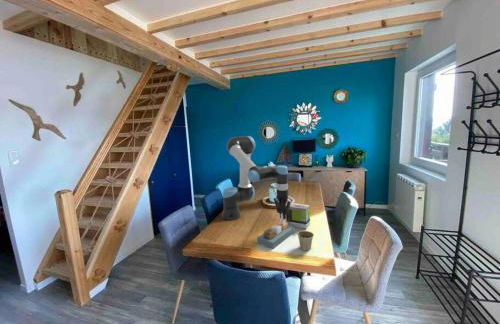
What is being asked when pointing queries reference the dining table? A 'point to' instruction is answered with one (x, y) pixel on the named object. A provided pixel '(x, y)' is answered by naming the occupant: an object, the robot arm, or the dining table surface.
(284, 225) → the terracotta key
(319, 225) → the dining table surface
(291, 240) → the dining table surface
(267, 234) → the walnut key
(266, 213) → the dining table surface
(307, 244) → the flower pot
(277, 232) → the cream key
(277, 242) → the grey slotted tray
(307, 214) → the tea box
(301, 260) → the dining table surface
